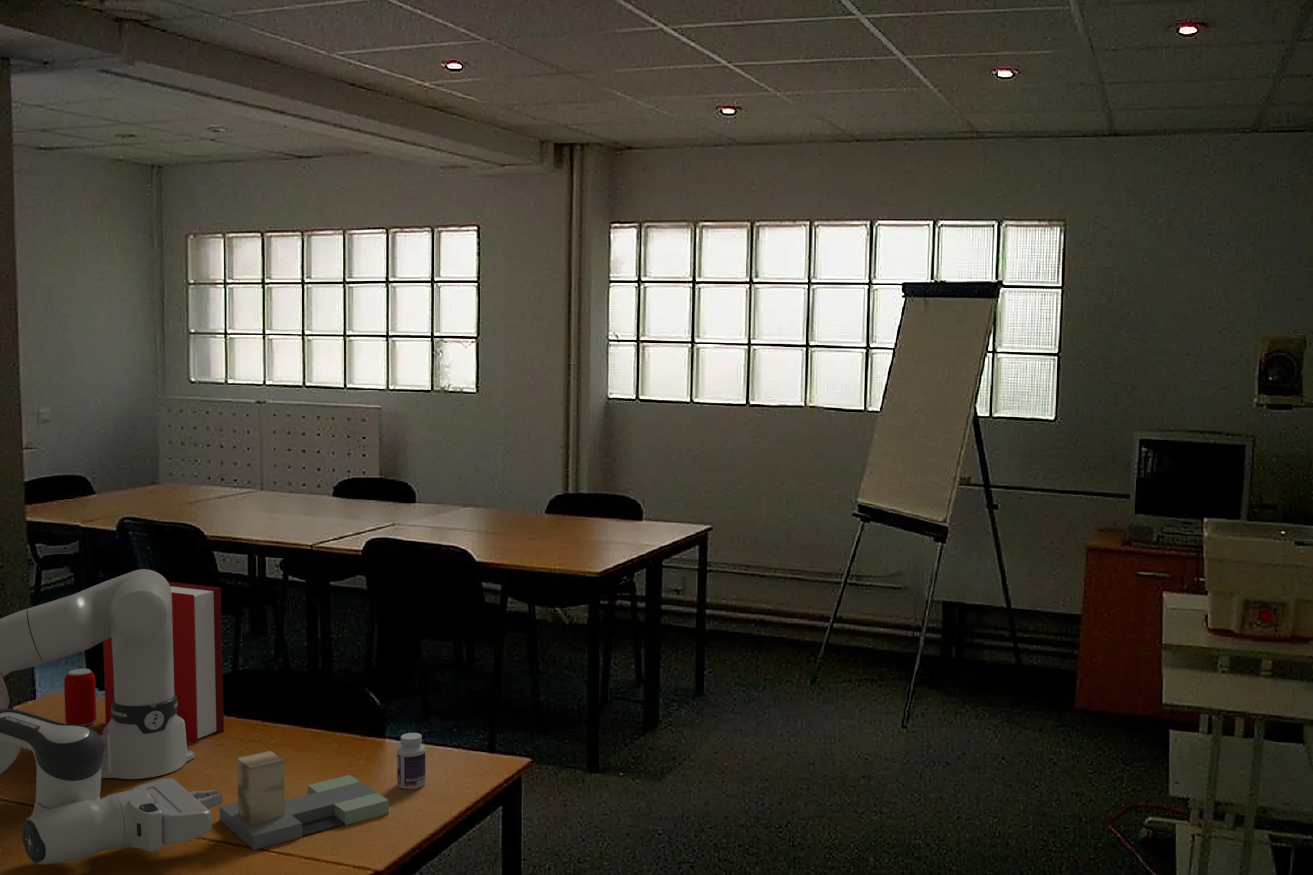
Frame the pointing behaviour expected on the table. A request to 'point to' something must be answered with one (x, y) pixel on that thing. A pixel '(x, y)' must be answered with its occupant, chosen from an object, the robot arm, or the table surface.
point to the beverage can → (80, 697)
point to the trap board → (310, 812)
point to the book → (190, 659)
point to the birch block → (260, 787)
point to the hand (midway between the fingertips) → (219, 796)
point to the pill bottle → (411, 762)
